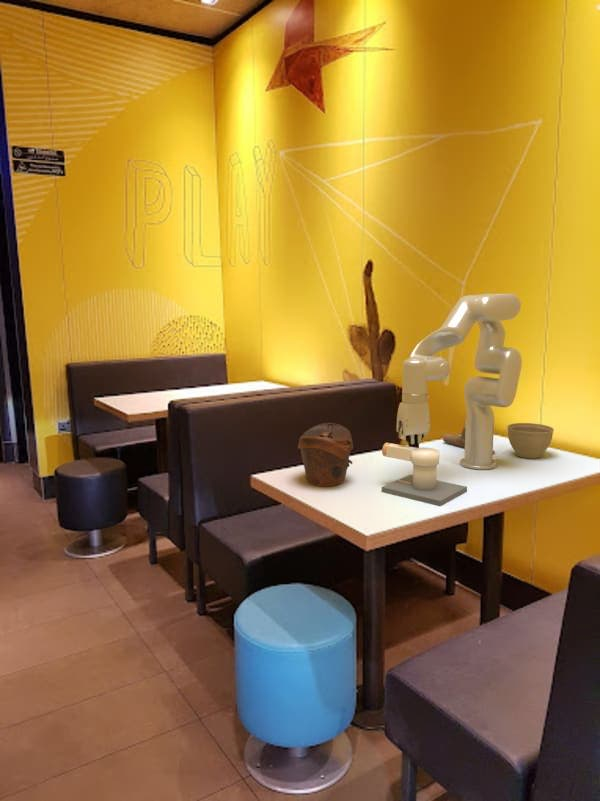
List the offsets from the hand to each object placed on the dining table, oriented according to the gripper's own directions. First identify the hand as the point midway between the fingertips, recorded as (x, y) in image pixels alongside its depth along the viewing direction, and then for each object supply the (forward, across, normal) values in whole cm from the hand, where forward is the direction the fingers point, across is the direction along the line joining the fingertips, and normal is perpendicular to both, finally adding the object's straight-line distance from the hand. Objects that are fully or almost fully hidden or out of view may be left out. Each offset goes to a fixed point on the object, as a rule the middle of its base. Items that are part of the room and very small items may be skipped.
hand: (413, 455), depth 189 cm
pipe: (+11, -44, -33) cm, 56 cm away
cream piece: (+1, +3, +3) cm, 5 cm away
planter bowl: (+11, -59, -11) cm, 61 cm away
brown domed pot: (+10, +24, -15) cm, 30 cm away
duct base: (+10, +1, +8) cm, 12 cm away
